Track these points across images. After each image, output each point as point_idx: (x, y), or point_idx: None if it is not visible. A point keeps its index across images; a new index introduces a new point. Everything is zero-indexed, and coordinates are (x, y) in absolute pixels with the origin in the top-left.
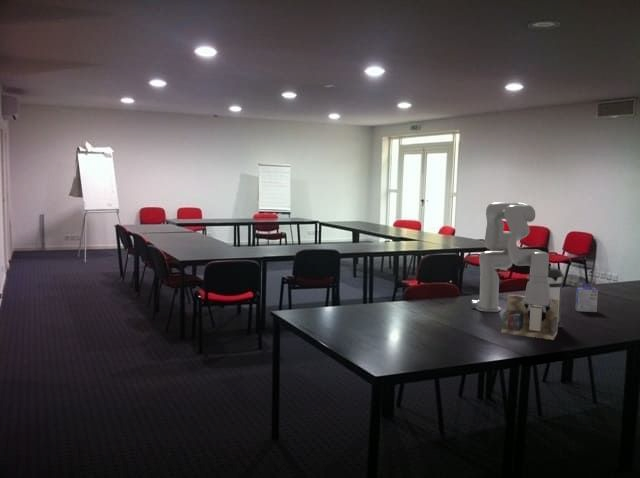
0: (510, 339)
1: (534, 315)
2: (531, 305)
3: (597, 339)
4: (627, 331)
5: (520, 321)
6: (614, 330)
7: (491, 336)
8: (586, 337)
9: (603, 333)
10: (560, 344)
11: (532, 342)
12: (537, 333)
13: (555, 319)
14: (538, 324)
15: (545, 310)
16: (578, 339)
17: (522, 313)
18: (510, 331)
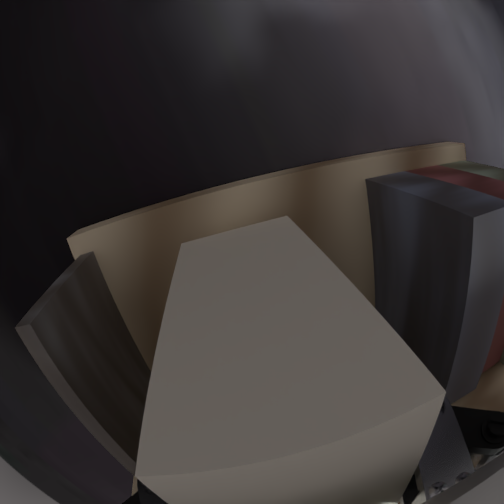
0: (335, 2)
1: (276, 316)
2: (424, 485)
3: (3, 398)
4: (59, 497)
5: (412, 271)
6: (79, 497)
7: (443, 20)
8: (38, 405)
9: (63, 470)
10: (5, 161)
11: (165, 30)
12: (206, 231)
13: (103, 437)
14: (196, 265)
15: (143, 492)
16: (23, 354)
17: (438, 381)
18: (411, 149)
